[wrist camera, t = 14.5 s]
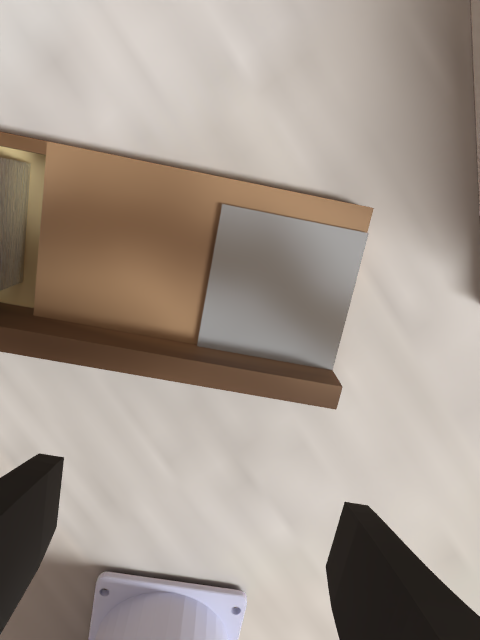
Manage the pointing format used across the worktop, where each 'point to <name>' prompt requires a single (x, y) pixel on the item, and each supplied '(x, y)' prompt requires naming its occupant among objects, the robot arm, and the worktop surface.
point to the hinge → (476, 75)
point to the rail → (181, 274)
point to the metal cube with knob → (13, 219)
